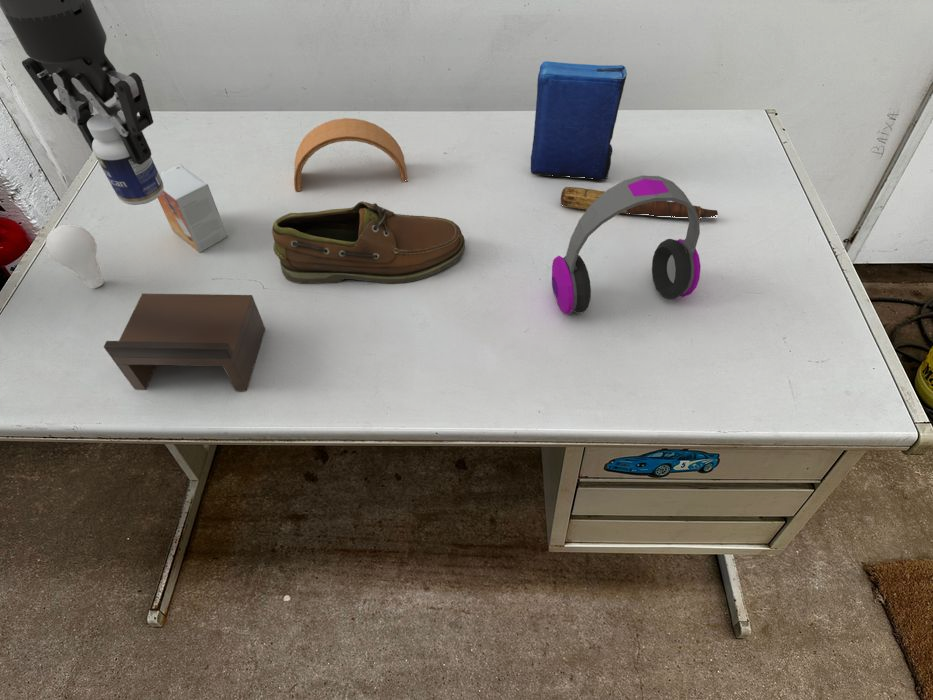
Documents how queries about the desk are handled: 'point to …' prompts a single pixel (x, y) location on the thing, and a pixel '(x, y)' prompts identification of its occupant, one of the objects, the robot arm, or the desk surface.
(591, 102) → the book
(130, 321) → the shelf
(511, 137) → the desk surface
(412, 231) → the boat shoe
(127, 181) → the pill bottle
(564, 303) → the headphones
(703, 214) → the hand tool
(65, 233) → the lightbulb
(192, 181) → the small box
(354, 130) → the arch
